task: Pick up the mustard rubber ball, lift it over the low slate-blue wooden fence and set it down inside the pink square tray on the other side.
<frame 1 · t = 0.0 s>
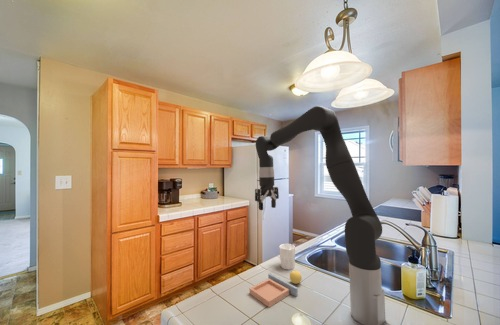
hand: (267, 208, 103), 29 cm above the countertop, fingers open, 8 cm apart
white cup: (287, 266, 104), on the countertop
ball: (295, 277, 89), point 2 cm above the countertop
fence: (282, 287, 85), on the countertop
pink square tray: (269, 294, 81), on the countertop
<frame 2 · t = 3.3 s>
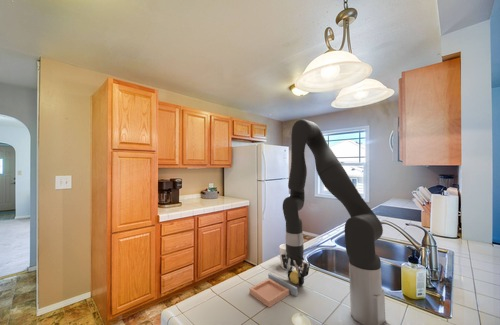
hand: (295, 281, 89), 0 cm above the countertop, fingers closed on ball, 5 cm apart
ball: (295, 277, 89), point 2 cm above the countertop, touching gripper
everything else where it was.
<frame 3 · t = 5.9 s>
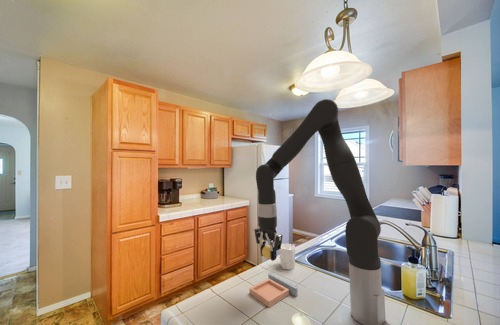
hand: (268, 257, 82), 14 cm above the countertop, fingers closed on ball, 5 cm apart
ball: (268, 252, 82), point 16 cm above the countertop, touching gripper
everything else where it was.
when the fingers open (3 cm above the countertop, at t = 8.7 s): ball drops 2 cm, resting on pink square tray.
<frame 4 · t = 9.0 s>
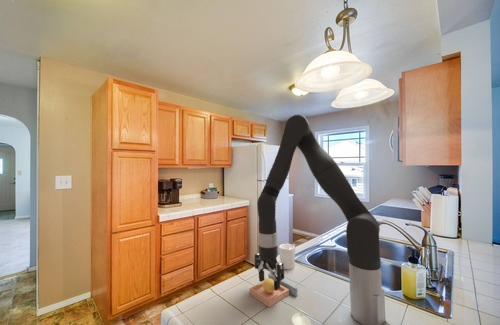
hand: (269, 284, 81), 4 cm above the countertop, fingers open, 8 cm apart
ball: (269, 285, 81), point 3 cm above the countertop, touching pink square tray
everything else where it was.
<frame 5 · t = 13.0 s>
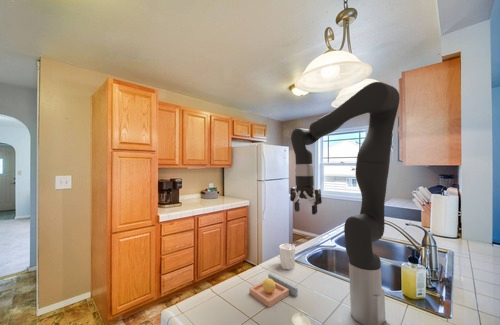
hand: (305, 212, 88), 30 cm above the countertop, fingers open, 8 cm apart
nothing on the countertop moved.
at the end: ball inside the target area on the pink square tray (0.0 cm from its centre), point 3.3 cm above the pink square tray's base; the gripper is holding nothing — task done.
